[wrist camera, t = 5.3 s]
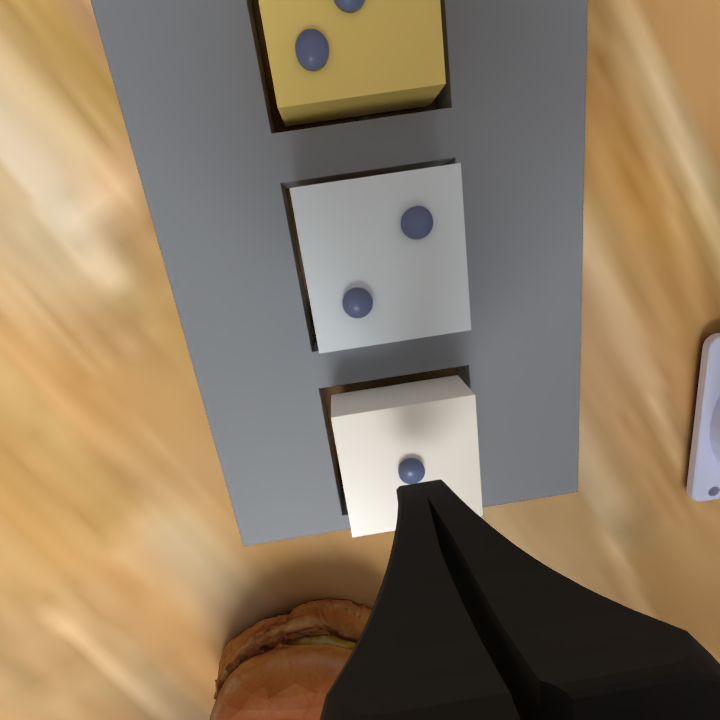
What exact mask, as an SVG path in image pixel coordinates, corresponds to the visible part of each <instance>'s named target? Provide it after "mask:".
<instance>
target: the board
mask: <svg viewBox="0 0 720 720" xmlns="http://www.w3.org/2000/svg"><path fill="white" fill-rule="evenodd" d="M91 4H92V8H93V11H94V15H95V18H96V22H97V25H98V29H99V32H100V36H101V40H102V43H103V47H104V50H105V54H106V57H107V61H108V65H109V68H110V72H111V75H112V79H113V82H114V86H115V90H116V93H117V97H118V100H119V104H120V107H121V111H122V115H123V118H124V122H125V125H126V129H127V132H128V136H129V139H130V143H131V147H132V150H133V154H134V157H135V161H136V164H137V168H138V172H139V175H140V179H141V182H142V186H143V189H144V193H145V197H146V200H147V204H148V207H149V211H150V214H151V218H152V222H153V225H154V229H155V232H156V236H157V239H158V243H159V247H160V250H161V254H162V257H163V261H164V264H165V268H166V271H167V275H168V279H169V282H170V286H171V289H172V293H173V296H174V300H175V304H176V307H177V311H178V314H179V318H180V321H181V325H182V329H183V332H184V336H185V339H186V343H187V346H188V350H189V354H190V357H191V361H192V364H193V368H194V371H195V375H196V378H197V382H198V386H199V389H200V393H201V396H202V400H203V403H204V407H205V411H206V414H207V418H208V421H209V425H210V428H211V432H212V436H213V439H214V443H215V446H216V450H217V453H218V457H219V461H220V464H221V468H222V471H223V475H224V478H225V482H226V485H227V489H228V493H229V496H230V500H231V503H232V507H233V510H234V514H235V518H236V521H237V525H238V528H239V532H240V535H241V539H242V543H243V546H249V545H255V544H261V543H267V542H273V541H279V540H286V539H292V538H298V537H304V536H310V535H316V534H322V533H329V532H335V531H341V530H347V529H351V527H350V521H349V516H348V510H347V504H346V499H345V493H344V492H341V487H340V481H339V476H338V470H337V465H336V459H335V454H334V448H333V443H332V438H331V432H330V427H329V421H328V416H327V410H326V405H325V399H324V394H323V388H325V387H331V386H338V385H344V384H351V383H357V382H363V381H370V380H376V379H382V378H389V377H395V376H402V375H408V374H414V373H421V372H427V371H434V370H440V369H446V368H453V367H458V376H459V377H460V378H461V379H462V381H463V382H464V383H465V384H466V385H467V386H468V387H469V388H470V389H471V391H472V392H473V393H474V394H475V398H476V414H477V430H478V446H479V462H480V478H481V494H482V507H488V506H494V505H500V504H506V503H512V502H519V501H525V500H531V499H537V498H543V497H549V496H555V495H561V494H568V493H574V492H578V449H579V399H580V350H581V301H582V251H583V202H584V152H585V103H586V54H587V4H588V0H440V5H441V19H442V34H443V49H444V63H445V78H446V84H445V86H444V87H443V88H442V90H441V91H440V93H439V94H438V95H437V101H438V110H431V111H424V112H417V113H410V114H403V115H396V116H390V117H383V118H376V119H369V120H362V121H355V122H348V123H341V124H334V125H327V126H321V127H314V128H307V129H300V130H293V131H286V132H279V133H276V132H275V126H274V121H273V115H272V110H271V104H270V99H269V93H268V88H267V82H266V77H265V71H264V66H263V60H262V55H261V50H260V44H259V39H258V33H257V28H256V22H255V17H254V11H253V6H252V0H91ZM457 163H461V174H462V190H463V206H464V222H465V238H466V254H467V270H468V286H469V302H470V318H471V330H468V331H462V332H456V333H449V334H443V335H436V336H430V337H423V338H417V339H410V340H404V341H398V342H391V343H385V344H378V345H372V346H365V347H359V348H352V349H346V350H340V351H333V352H327V353H320V354H319V349H318V344H317V341H314V339H313V334H312V328H311V323H310V317H309V312H308V306H307V301H306V295H305V290H304V285H303V279H302V274H301V268H300V263H299V257H298V252H297V246H296V241H295V235H294V230H293V224H292V219H291V214H290V208H289V203H288V197H287V192H286V189H288V188H294V187H301V186H308V185H314V184H321V183H328V182H335V181H341V180H348V179H355V178H362V177H369V176H375V175H382V174H389V173H396V172H402V171H409V170H416V169H423V168H430V167H436V166H443V165H450V164H457Z"/></svg>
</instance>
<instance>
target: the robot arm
mask: <svg viewBox="0 0 720 720" xmlns="http://www.w3.org/2000/svg"><path fill="white" fill-rule="evenodd" d="M396 492H397V500H398V514H397V523H396V530H395V536H394V541H393V546H392V550H391V554H390V559H389V562H388V566H387V570H386V573H385V576H384V579H383V582H382V585H381V588H380V591H379V593H378V596H377V599H376V601H375V604H374V606H373V609H372V611H371V613H370V616H369V618H368V620H367V623H366V625H365V627H364V629H363V631H362V633H361V635H360V637H359V639H358V641H357V643H356V645H355V647H354V649H353V651H352V652H351V654H350V656H349V658H348V660H347V661H346V663H345V665H344V666H343V668H342V670H341V671H340V673H339V675H338V676H337V678H336V680H335V681H334V683H333V684H332V686H331V688H330V689H329V691H328V693H327V694H326V697H325V701H324V705H323V709H322V712H321V716H320V720H720V664H719V663H718V662H717V661H716V659H715V658H714V657H713V656H712V655H711V654H710V653H709V652H708V651H707V650H706V649H705V648H704V647H703V646H702V645H701V644H700V643H699V642H698V641H696V640H695V639H694V638H693V637H692V636H691V635H690V634H689V633H688V632H687V631H685V630H683V629H680V628H678V627H675V626H672V625H670V624H667V623H665V622H662V621H660V620H657V619H655V618H652V617H650V616H647V615H644V614H642V613H639V612H637V611H634V610H632V609H630V608H627V607H625V606H623V605H621V604H619V603H616V602H614V601H612V600H610V599H608V598H606V597H603V596H601V595H599V594H597V593H595V592H593V591H591V590H589V589H587V588H585V587H583V586H581V585H579V584H578V583H576V582H574V581H572V580H570V579H568V578H567V577H565V576H563V575H561V574H559V573H558V572H556V571H554V570H552V569H551V568H549V567H547V566H546V565H544V564H542V563H541V562H539V561H538V560H536V559H535V558H533V557H532V556H530V555H529V554H527V553H526V552H524V551H523V550H521V549H520V548H519V547H517V546H516V545H514V544H513V543H512V542H510V541H509V540H508V539H507V538H505V537H504V536H503V535H501V534H500V533H499V532H498V531H496V530H495V529H494V528H493V527H491V526H490V525H489V524H488V523H487V522H486V521H484V520H483V519H482V518H481V517H480V516H479V515H478V514H476V513H475V512H474V511H473V510H472V509H471V508H470V507H469V506H468V505H467V504H466V503H464V502H463V501H462V500H461V499H460V498H459V497H458V496H457V495H456V494H455V493H454V492H453V491H452V490H451V489H450V488H449V487H448V485H447V484H446V483H445V482H443V481H442V480H441V479H439V480H433V481H427V482H421V483H415V484H409V485H403V486H399V487H398V488H397V490H396ZM686 492H687V495H688V496H689V497H690V498H692V499H693V500H695V501H697V502H702V501H708V500H714V499H720V333H715V334H712V335H710V336H709V337H708V338H707V339H706V340H705V341H704V344H703V348H702V357H701V366H700V375H699V383H698V392H697V401H696V410H695V419H694V427H693V436H692V445H691V454H690V462H689V471H688V480H687V489H686Z"/></svg>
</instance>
